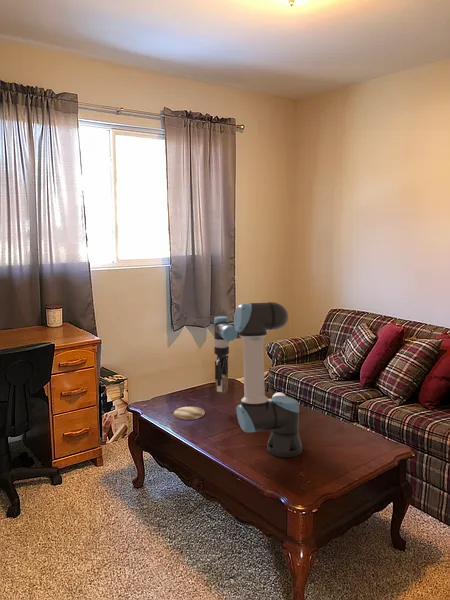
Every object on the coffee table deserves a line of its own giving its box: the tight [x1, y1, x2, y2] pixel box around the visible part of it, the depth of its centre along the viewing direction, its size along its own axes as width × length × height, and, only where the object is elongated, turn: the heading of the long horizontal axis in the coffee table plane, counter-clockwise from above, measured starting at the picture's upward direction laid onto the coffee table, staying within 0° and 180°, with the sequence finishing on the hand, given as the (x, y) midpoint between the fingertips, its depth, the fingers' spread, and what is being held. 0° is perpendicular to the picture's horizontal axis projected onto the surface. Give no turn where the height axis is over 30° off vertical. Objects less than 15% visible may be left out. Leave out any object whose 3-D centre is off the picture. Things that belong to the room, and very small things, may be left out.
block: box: [214, 374, 229, 393], centre depth 256 cm, size 5×5×8 cm
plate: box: [173, 406, 206, 421], centre depth 254 cm, size 16×16×1 cm
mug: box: [268, 392, 287, 402], centre depth 259 cm, size 12×10×8 cm
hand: (221, 389), depth 256 cm, fingers closed on block, 5 cm apart
